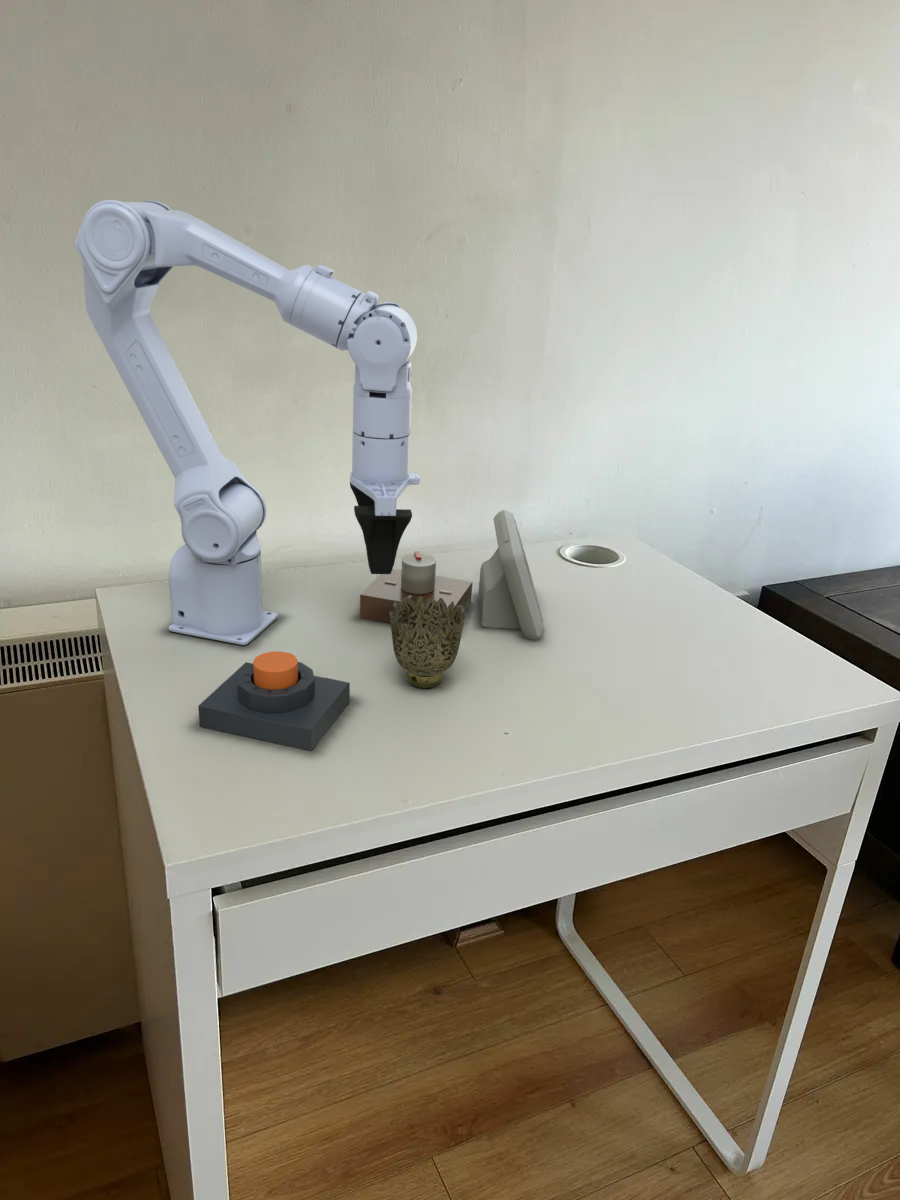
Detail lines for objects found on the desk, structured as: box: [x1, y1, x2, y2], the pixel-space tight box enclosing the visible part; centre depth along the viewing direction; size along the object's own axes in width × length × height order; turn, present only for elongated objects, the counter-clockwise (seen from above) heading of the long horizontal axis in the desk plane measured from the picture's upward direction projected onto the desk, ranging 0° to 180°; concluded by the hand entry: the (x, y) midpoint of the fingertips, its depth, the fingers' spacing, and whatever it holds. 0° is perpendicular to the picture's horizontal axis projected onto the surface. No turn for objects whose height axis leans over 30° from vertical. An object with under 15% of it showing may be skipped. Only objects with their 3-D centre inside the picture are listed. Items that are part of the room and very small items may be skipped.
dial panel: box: [359, 568, 473, 625], centre depth 106 cm, size 11×9×3 cm
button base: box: [198, 661, 351, 752], centre depth 84 cm, size 11×9×4 cm
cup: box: [390, 596, 466, 689], centre depth 90 cm, size 8×7×8 cm
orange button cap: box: [252, 650, 299, 690], centre depth 82 cm, size 4×4×2 cm
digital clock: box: [477, 509, 545, 640], centre depth 106 cm, size 16×9×11 cm, turn 169°
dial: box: [400, 550, 437, 594], centre depth 105 cm, size 4×4×4 cm
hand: (377, 559), depth 95 cm, fingers open, 7 cm apart
